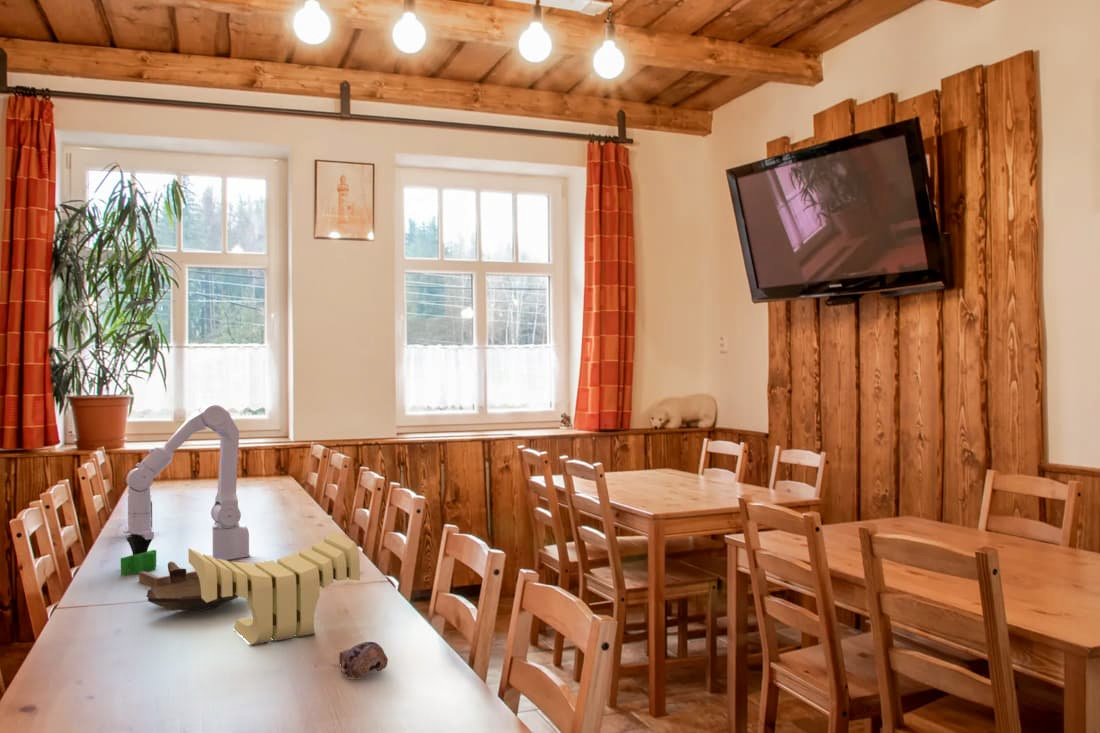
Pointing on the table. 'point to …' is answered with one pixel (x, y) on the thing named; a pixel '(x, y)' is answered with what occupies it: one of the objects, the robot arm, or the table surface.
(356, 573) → the slatted curved stool
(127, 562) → the pipe clamp
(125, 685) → the table surface
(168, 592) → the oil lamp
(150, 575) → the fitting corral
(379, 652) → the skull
